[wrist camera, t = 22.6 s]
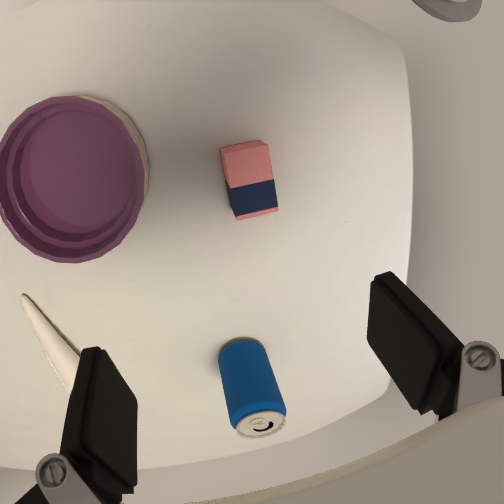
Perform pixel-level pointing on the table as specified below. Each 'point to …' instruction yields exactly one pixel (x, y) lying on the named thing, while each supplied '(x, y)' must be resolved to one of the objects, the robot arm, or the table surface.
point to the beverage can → (251, 390)
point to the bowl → (72, 178)
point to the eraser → (249, 179)
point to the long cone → (53, 345)
